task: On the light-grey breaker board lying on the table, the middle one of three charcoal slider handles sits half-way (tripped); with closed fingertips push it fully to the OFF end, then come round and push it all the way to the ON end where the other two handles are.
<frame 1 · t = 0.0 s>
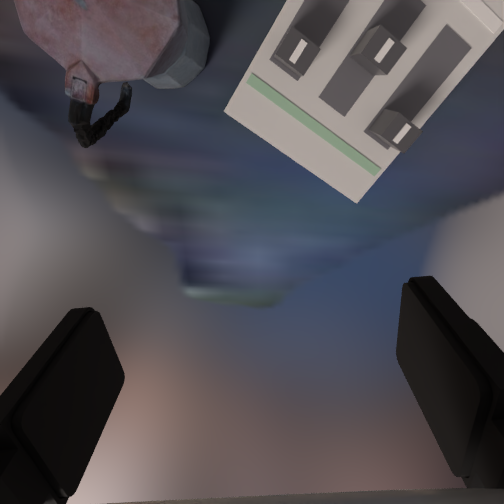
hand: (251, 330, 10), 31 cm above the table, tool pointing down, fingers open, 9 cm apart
moka pot: (167, 44, 34), on the table
panel: (363, 55, 34), on the table
breaker 2: (376, 52, 30), point 4 cm above the table, slide at 0.0 cm
breaker 3: (394, 130, 33), point 4 cm above the table, slide at 4.0 cm
breaker 1: (295, 53, 30), point 4 cm above the table, slide at 4.0 cm
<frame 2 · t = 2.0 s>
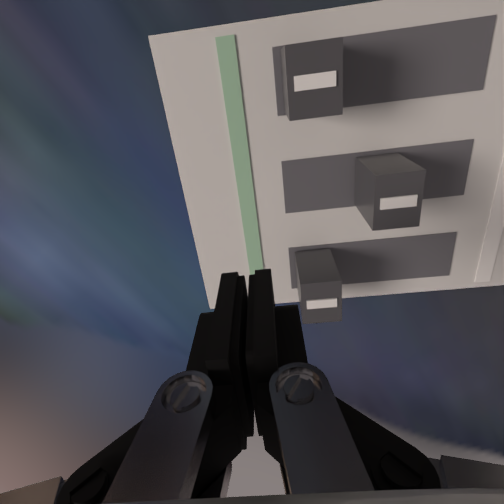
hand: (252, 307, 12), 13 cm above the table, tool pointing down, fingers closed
panel: (364, 169, 23), on the table
breaker 2: (385, 189, 19), point 4 cm above the table, slide at 0.0 cm
breaker 3: (317, 284, 22), point 4 cm above the table, slide at 4.0 cm
breaker 1: (309, 80, 16), point 4 cm above the table, slide at 4.0 cm
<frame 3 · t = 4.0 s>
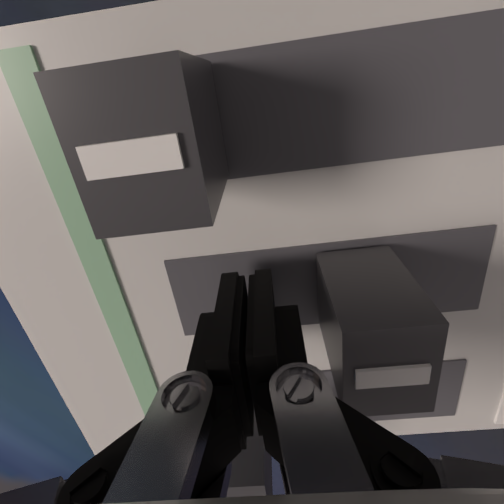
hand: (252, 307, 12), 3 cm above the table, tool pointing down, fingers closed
panel: (316, 258, 14), on the table
breaker 2: (368, 324, 10), point 4 cm above the table, slide at -0.9 cm, touching gripper
breaker 3: (237, 455, 13), point 4 cm above the table, slide at 4.0 cm
breaker 1: (160, 139, 8), point 4 cm above the table, slide at 4.0 cm
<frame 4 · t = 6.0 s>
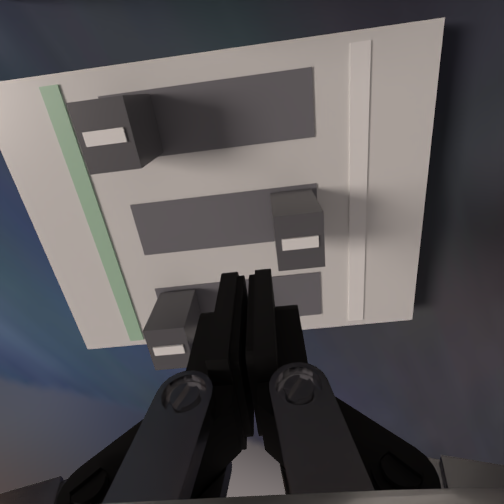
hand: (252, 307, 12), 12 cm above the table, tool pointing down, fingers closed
panel: (228, 210, 23), on the table
breaker 2: (295, 227, 18), point 4 cm above the table, slide at -4.0 cm
breaker 3: (176, 328, 21), point 4 cm above the table, slide at 4.0 cm
breaker 1: (121, 131, 16), point 4 cm above the table, slide at 4.0 cm
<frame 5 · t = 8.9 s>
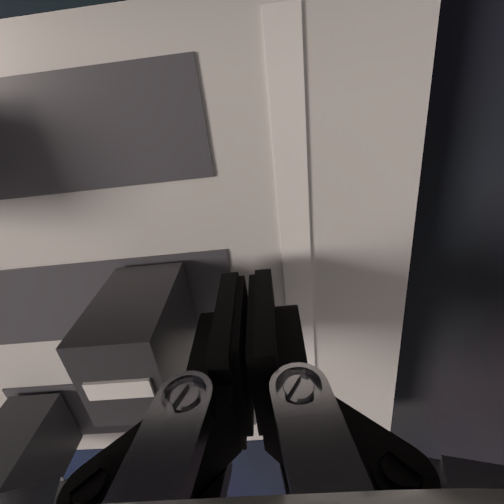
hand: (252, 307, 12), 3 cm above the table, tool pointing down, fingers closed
panel: (110, 274, 15), on the table
breaker 2: (142, 337, 11), point 4 cm above the table, slide at -2.8 cm, touching gripper
breaker 3: (19, 461, 14), point 4 cm above the table, slide at 4.0 cm
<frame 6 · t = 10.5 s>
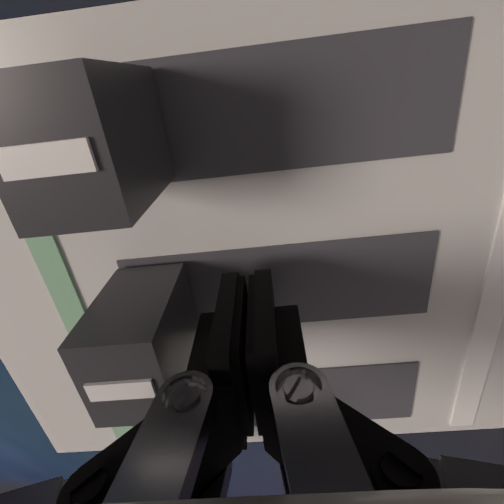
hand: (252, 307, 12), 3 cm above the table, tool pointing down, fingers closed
panel: (274, 260, 14), on the table
breaker 2: (143, 338, 11), point 4 cm above the table, slide at 4.4 cm, touching gripper
breaker 1: (92, 141, 8), point 4 cm above the table, slide at 4.0 cm
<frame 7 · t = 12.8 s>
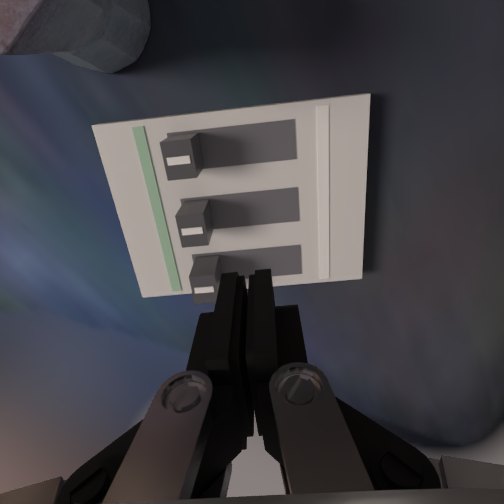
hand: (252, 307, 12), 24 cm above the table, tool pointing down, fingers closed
moka pot: (96, 17, 28), on the table
panel: (241, 203, 34), on the table
breaker 2: (195, 222, 31), point 4 cm above the table, slide at 4.0 cm
breaker 3: (206, 278, 33), point 4 cm above the table, slide at 4.0 cm
breaker 1: (183, 155, 28), point 4 cm above the table, slide at 4.0 cm
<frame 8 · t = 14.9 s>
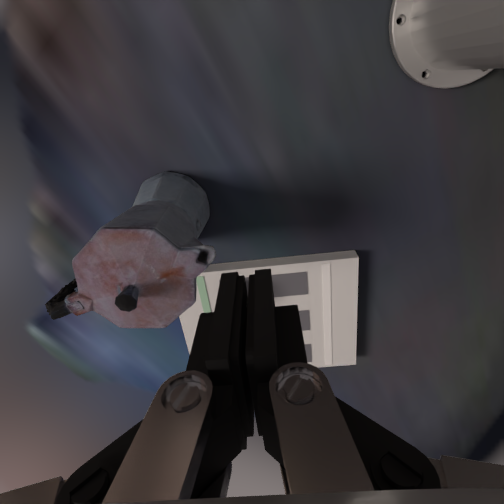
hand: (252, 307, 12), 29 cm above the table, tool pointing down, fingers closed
moka pot: (172, 209, 41), on the table
panel: (268, 314, 48), on the table
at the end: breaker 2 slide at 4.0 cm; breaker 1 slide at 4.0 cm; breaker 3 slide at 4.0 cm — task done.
